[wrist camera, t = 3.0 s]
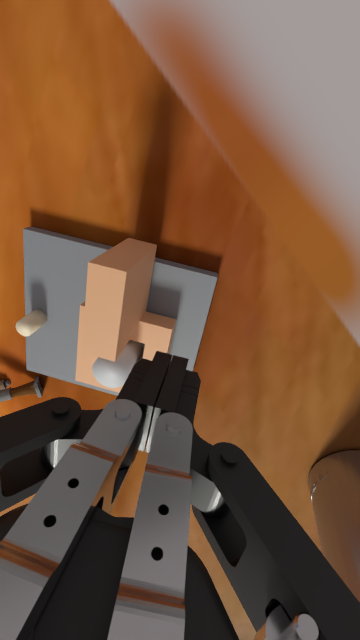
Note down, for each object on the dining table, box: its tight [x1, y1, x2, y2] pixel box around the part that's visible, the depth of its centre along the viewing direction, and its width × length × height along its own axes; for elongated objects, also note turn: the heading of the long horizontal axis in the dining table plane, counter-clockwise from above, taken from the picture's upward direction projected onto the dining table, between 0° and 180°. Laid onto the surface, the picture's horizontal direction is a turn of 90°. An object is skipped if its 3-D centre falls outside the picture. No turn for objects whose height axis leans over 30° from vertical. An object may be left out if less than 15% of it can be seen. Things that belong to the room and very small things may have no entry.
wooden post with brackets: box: [0, 376, 44, 402], centre depth 36 cm, size 2×8×4 cm, turn 97°
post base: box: [16, 226, 218, 396], centre depth 29 cm, size 17×15×6 cm
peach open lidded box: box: [75, 238, 177, 393], centre depth 26 cm, size 14×8×8 cm, turn 169°
